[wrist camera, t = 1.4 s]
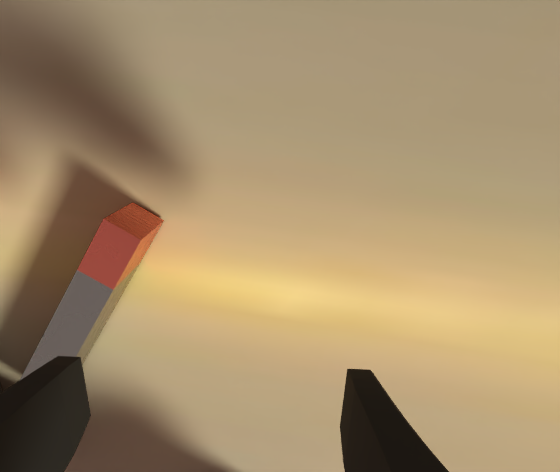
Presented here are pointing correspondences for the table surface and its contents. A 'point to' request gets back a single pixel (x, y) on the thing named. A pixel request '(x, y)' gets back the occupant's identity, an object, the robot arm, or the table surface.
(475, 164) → the table surface
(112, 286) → the tongs jaw
